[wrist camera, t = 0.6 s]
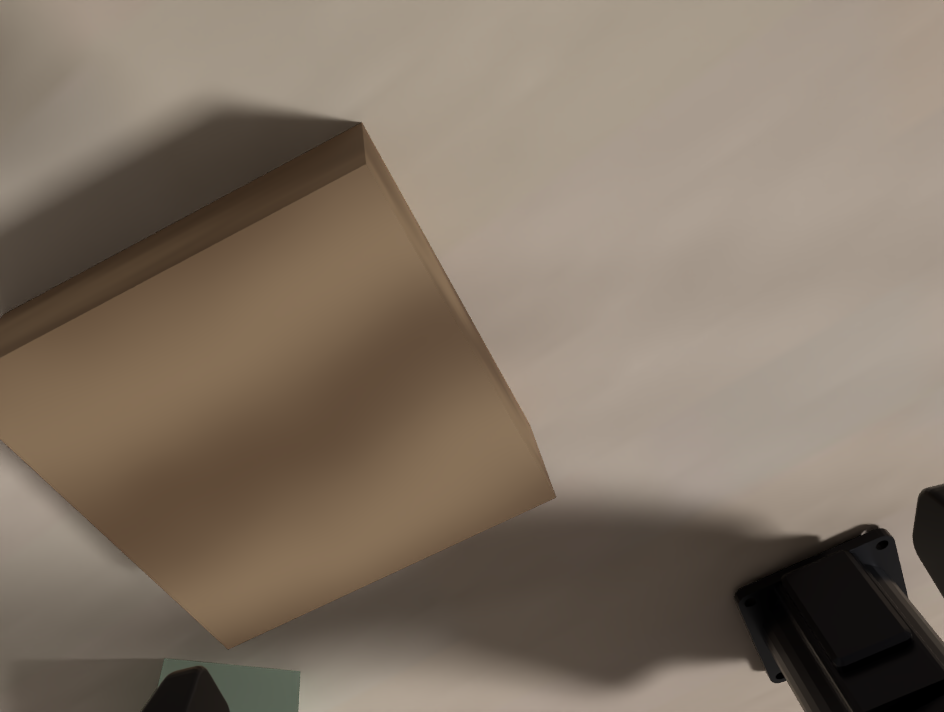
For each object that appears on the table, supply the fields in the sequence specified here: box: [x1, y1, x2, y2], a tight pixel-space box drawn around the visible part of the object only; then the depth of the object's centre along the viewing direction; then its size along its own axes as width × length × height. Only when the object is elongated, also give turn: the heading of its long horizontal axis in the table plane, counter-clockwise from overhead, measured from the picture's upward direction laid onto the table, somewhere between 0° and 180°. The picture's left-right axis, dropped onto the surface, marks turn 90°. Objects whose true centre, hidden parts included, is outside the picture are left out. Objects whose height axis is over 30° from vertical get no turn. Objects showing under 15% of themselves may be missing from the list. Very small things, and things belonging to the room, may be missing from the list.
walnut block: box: [0, 123, 556, 649], centre depth 21 cm, size 11×11×4 cm
